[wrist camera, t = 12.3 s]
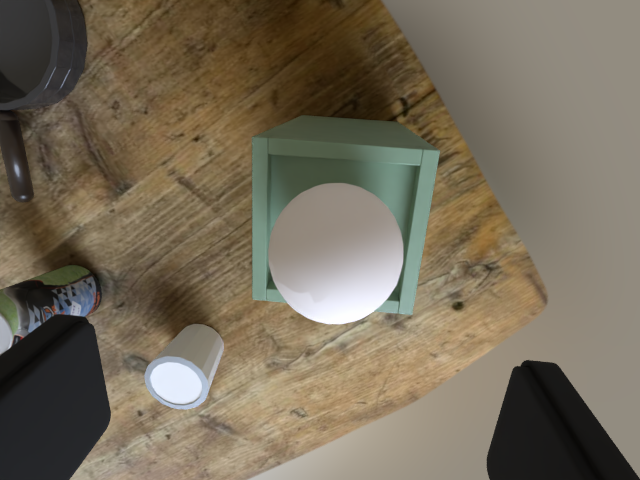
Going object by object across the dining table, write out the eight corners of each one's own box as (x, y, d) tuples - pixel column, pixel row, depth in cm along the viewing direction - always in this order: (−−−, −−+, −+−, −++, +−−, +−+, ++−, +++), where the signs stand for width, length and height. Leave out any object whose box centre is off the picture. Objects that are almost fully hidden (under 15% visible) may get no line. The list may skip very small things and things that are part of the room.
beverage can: (85, 316, 47) (0, 387, 36) (39, 270, 45) (-66, 328, 34) (120, 291, 45) (43, 356, 34) (74, 242, 43) (-24, 294, 32)
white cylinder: (220, 316, 45) (197, 353, 39) (235, 364, 47) (216, 407, 41) (165, 322, 46) (134, 360, 40) (182, 369, 48) (156, 412, 42)
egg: (383, 284, 22) (396, 375, 15) (278, 266, 22) (242, 348, 15) (406, 179, 20) (435, 228, 13) (289, 161, 20) (254, 199, 13)
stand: (301, 115, 37) (251, 136, 19) (398, 121, 36) (440, 150, 18) (297, 207, 40) (251, 299, 22) (386, 214, 39) (412, 315, 22)
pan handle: (3, 108, 37) (-14, 108, 35) (21, 109, 36) (5, 110, 35) (23, 198, 40) (8, 203, 38) (40, 200, 40) (26, 205, 38)
